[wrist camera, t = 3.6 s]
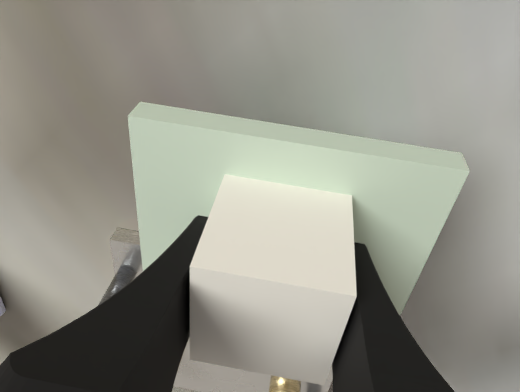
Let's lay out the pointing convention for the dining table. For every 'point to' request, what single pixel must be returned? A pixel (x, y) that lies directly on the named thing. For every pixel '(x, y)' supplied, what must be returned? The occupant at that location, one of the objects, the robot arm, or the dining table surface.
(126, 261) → the plate
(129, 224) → the dining table surface
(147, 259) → the sage board
